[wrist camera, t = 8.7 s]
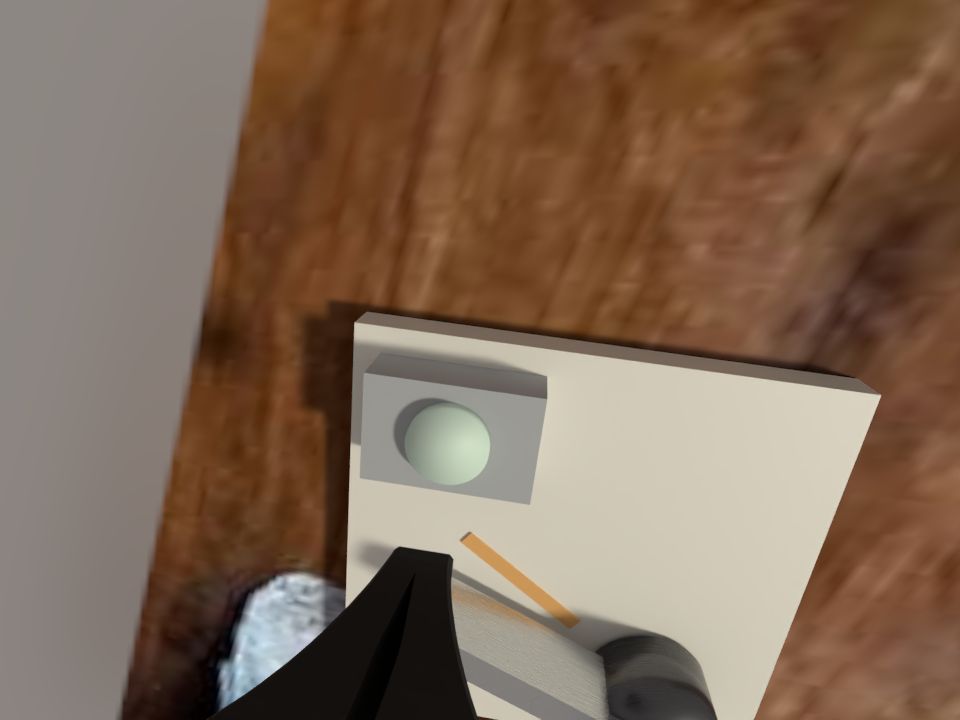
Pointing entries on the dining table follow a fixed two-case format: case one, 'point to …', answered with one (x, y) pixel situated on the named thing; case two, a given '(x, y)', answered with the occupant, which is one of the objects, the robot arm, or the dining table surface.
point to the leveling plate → (602, 486)
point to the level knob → (574, 668)
